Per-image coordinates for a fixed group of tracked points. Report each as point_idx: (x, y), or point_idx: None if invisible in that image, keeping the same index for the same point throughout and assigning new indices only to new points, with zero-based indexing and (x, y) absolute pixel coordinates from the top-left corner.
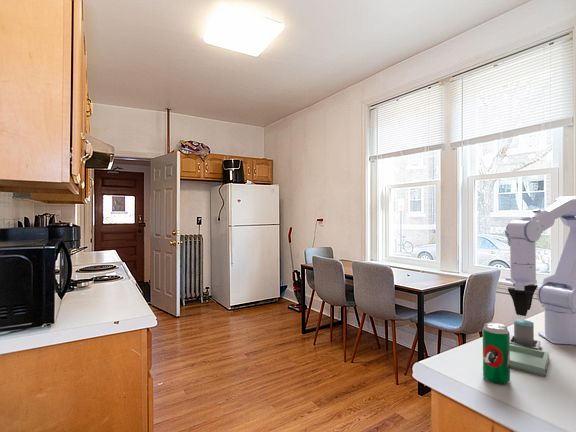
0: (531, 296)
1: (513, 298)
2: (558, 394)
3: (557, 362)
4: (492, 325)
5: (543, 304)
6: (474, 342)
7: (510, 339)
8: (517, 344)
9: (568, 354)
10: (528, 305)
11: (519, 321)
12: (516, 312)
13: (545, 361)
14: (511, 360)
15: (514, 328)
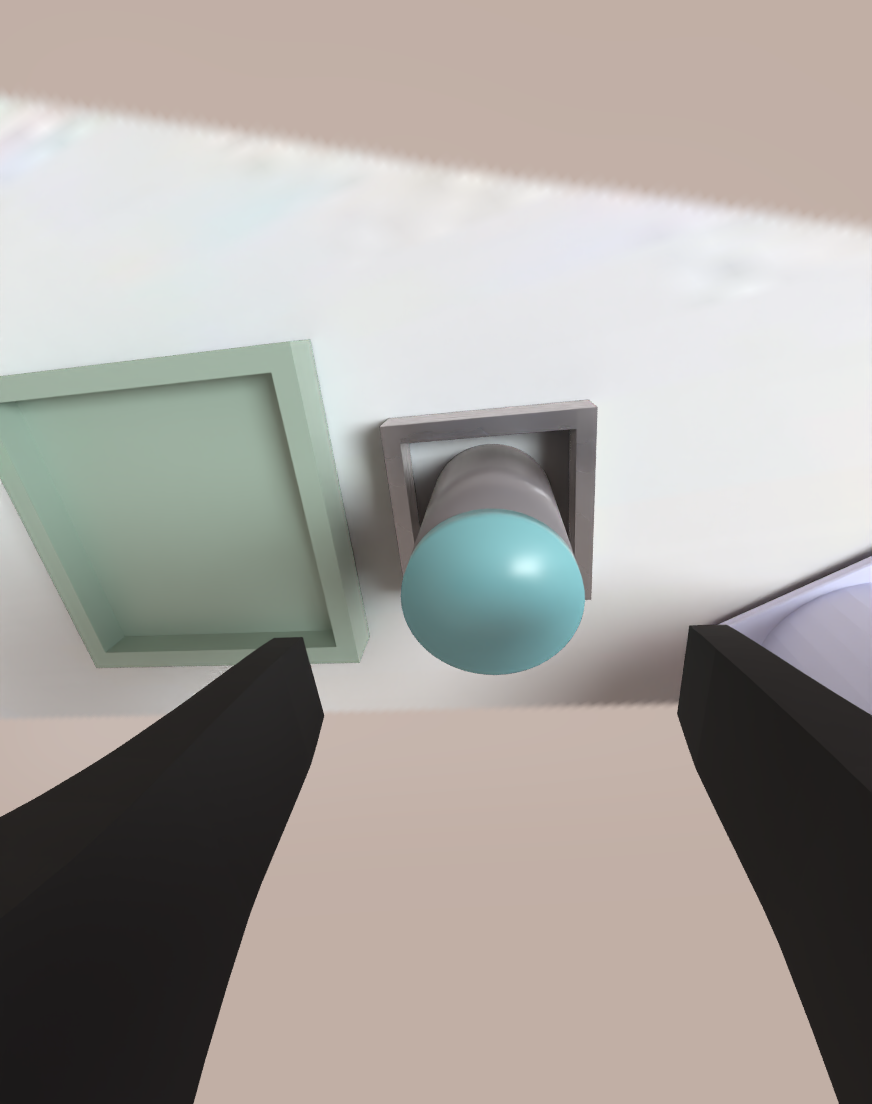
0: (798, 987)
1: (1, 843)
2: (18, 689)
3: (362, 667)
4: None
5: None
6: (281, 159)
7: (462, 433)
8: (390, 495)
9: (542, 696)
10: (710, 762)
11: (466, 571)
12: (253, 656)
13: (196, 662)
14: (33, 539)
15: (454, 497)
